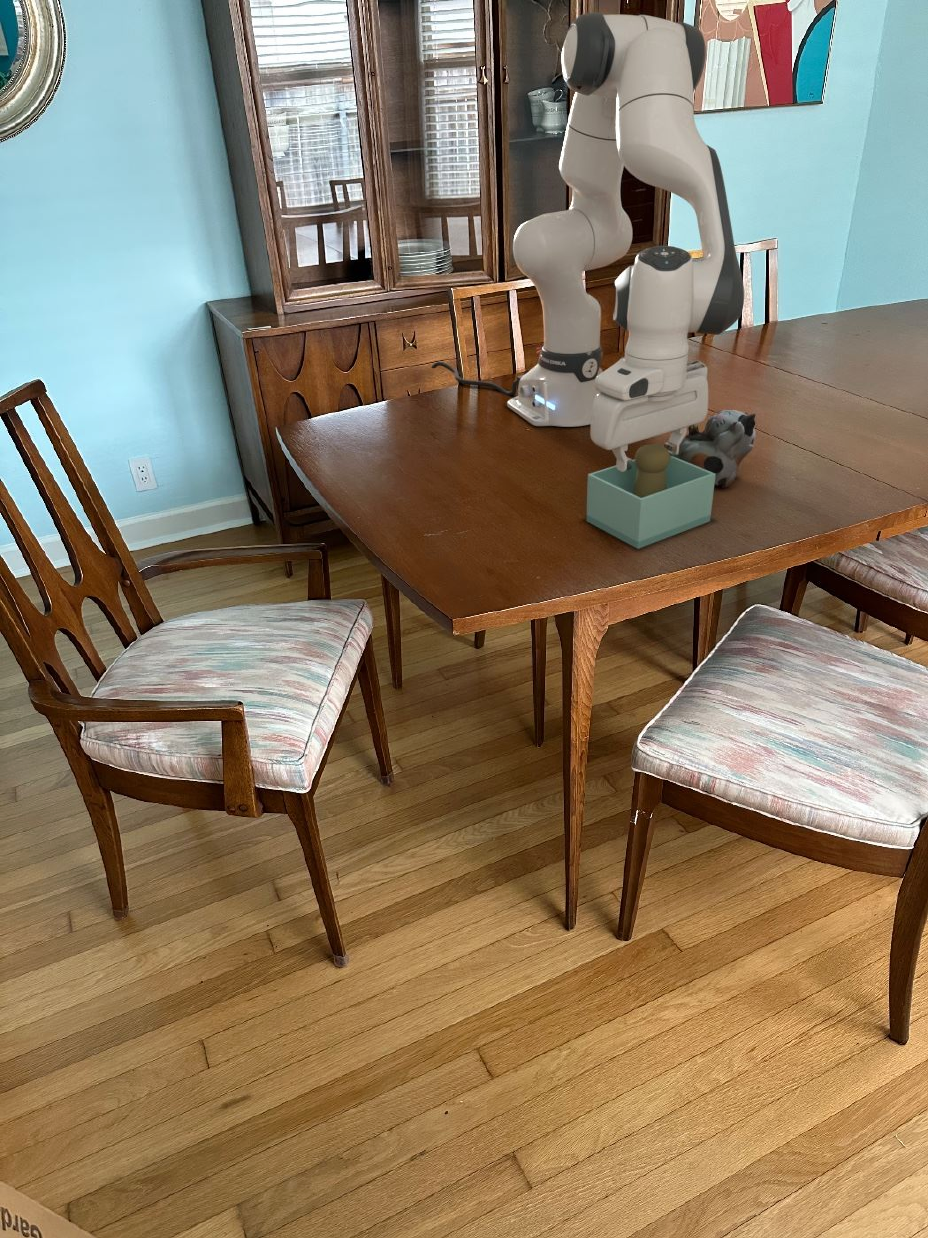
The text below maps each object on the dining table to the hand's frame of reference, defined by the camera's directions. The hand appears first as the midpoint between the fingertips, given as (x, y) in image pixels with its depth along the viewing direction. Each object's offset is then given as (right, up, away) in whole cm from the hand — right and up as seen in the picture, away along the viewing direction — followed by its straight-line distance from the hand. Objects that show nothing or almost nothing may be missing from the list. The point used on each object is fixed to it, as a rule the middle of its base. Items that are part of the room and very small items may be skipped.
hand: (647, 462), depth 130 cm
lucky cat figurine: (+14, +1, +19) cm, 24 cm away
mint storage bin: (-2, -2, +7) cm, 8 cm away
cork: (+1, -8, +4) cm, 9 cm away
